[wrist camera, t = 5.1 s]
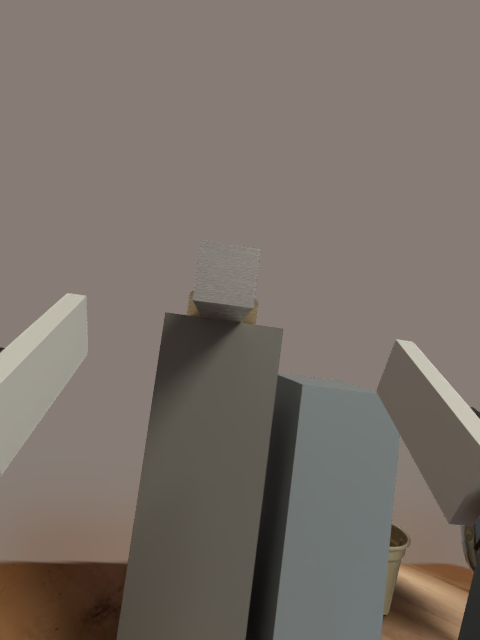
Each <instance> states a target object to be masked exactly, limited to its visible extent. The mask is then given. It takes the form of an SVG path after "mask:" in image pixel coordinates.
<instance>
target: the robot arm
mask: <svg viewBox="0 0 480 640" xmlns="http://www.w3.org/2000/svg"><path fill="white" fill-rule="evenodd" d="M86 298H87V296H84V295H76V294H69V293H67V294H66V295H65V296H64V297H63V298H61V299H60V300H59V301H58V302H57V303H56V304H55V305H53V306H52V307H51V308H50V309H49V310H48V311H47V312H46V313H44V314H43V315H42V316H41V317H40V318H39V319H38V320H37V321H35V322H34V323H33V324H32V325H31V326H30V327H29V328H28V329H26V330H25V331H24V332H23V333H22V334H21V335H20V336H19V337H17V338H16V339H15V340H14V341H13V342H12V343H11V344H10V345H9V346H7V347H6V348H0V476H1V475H2V474H3V472H4V471H5V470H6V468H7V467H8V465H9V464H10V463H11V461H12V460H13V458H14V457H15V456H16V454H17V453H18V451H19V450H20V448H21V447H22V446H23V444H24V443H25V441H26V440H27V439H28V437H29V436H30V434H31V433H32V432H33V430H34V429H35V427H36V426H37V425H38V423H39V422H40V420H41V419H42V418H43V416H44V415H45V413H46V412H47V410H48V409H49V407H50V406H51V405H52V403H53V402H54V401H55V399H56V398H57V396H58V395H59V393H60V392H61V391H62V389H63V388H64V387H65V385H66V383H67V382H68V381H69V379H70V378H71V377H72V375H73V374H74V372H75V371H76V370H77V368H78V367H79V365H80V364H81V362H82V361H83V360H84V358H85V357H86V355H87V354H88V341H87V299H86ZM376 392H377V394H378V395H379V397H380V399H381V401H382V403H383V405H384V406H385V408H386V410H387V412H388V414H389V416H390V417H391V419H392V421H393V423H394V425H395V426H396V428H397V430H398V432H399V434H400V436H401V437H402V439H403V441H404V443H405V445H406V446H407V448H408V450H409V452H410V454H411V456H412V458H413V459H414V461H415V463H416V465H417V467H418V468H419V470H420V472H421V474H422V476H423V478H424V479H425V481H426V483H427V485H428V487H429V488H430V490H431V492H432V494H433V496H434V498H435V499H436V501H437V503H438V505H439V507H440V509H441V510H442V512H443V514H444V516H445V518H446V519H447V521H448V523H449V524H456V525H465V526H473V525H474V524H475V522H476V520H477V519H478V517H479V516H480V412H478V411H477V410H476V409H474V408H473V407H469V406H468V405H467V404H466V402H465V401H464V400H463V399H462V398H461V397H460V396H459V394H458V393H457V392H456V391H455V390H454V389H453V387H452V386H451V385H450V384H449V383H448V382H447V380H446V379H445V378H444V377H443V376H442V375H441V374H440V372H439V371H438V370H437V369H436V368H435V367H434V366H433V364H432V363H431V362H430V361H429V360H428V359H427V358H426V356H425V355H424V354H423V353H422V352H421V350H420V349H419V348H418V347H417V346H416V345H415V343H414V342H411V341H404V340H397V339H396V341H395V343H394V346H393V348H392V351H391V354H390V356H389V359H388V362H387V364H386V367H385V369H384V372H383V375H382V377H381V380H380V382H379V385H378V388H377V390H376ZM479 548H480V539H479V540H478V542H477V543H476V545H475V546H474V548H473V549H474V550H476V551H478V549H479ZM458 640H480V550H479V554H478V558H477V562H476V567H475V571H474V575H473V579H472V583H471V587H470V591H469V596H468V600H467V604H466V608H465V612H464V616H463V620H462V625H461V629H460V633H459V637H458Z"/></svg>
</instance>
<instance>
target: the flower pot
mask: <svg viewBox="0 0 480 640" xmlns="http://www.w3.org/2000/svg"><path fill="white" fill-rule="evenodd" d="M410 542H411V540H410V537H409V535H408V534H407V533H406V532H405V531H404V530H403V529H401V528H399V527H398V526H397V525H395V524H393V523H392V525H391V536H390V546H389V557H388V568H387V578H386V589H385V600H384V611H383V615H388V613H389V611H390V606H391V602H392V597H393V592H394V588H395V584H396V580H397V575H398V571H399V567H400V563H401V559H402V557H404V555H405V551H406V548H408V547H409V545H410Z"/></svg>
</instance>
